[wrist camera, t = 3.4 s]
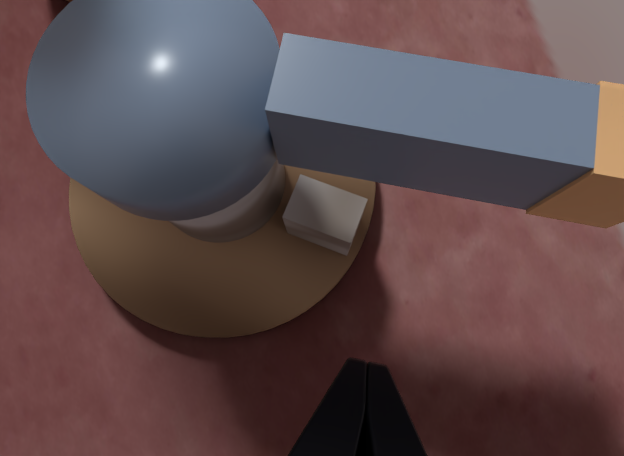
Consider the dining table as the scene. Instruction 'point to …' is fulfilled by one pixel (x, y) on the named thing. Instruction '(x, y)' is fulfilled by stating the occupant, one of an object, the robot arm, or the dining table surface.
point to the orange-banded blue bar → (306, 115)
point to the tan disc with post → (228, 253)
